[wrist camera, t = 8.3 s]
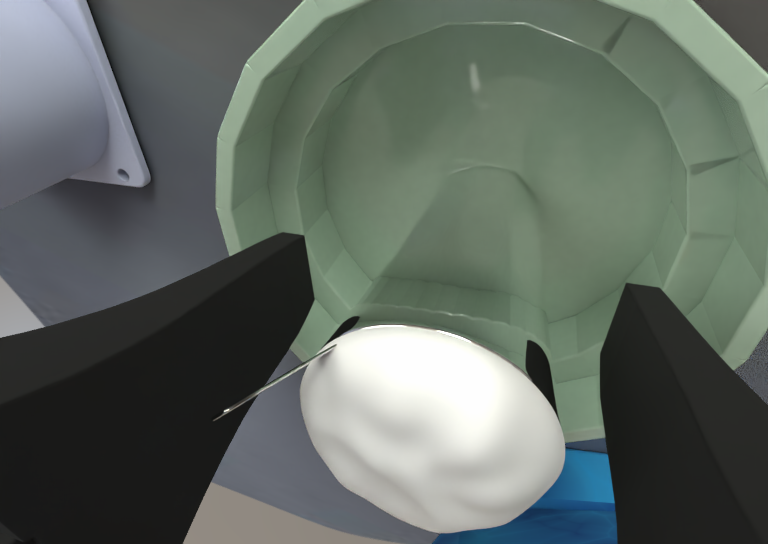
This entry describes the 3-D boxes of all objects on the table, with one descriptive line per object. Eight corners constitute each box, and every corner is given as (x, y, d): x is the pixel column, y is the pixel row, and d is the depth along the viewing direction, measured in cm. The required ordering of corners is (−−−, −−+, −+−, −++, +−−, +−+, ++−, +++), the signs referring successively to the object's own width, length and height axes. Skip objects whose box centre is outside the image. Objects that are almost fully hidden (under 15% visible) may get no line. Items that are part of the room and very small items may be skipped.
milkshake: (479, 84, 12) (326, 352, 4) (593, 229, 13) (641, 639, 5) (368, 182, 14) (151, 452, 7) (472, 293, 16) (388, 626, 8)
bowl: (318, 312, 20) (267, 390, 16) (261, -48, 12) (141, -45, 9) (641, 375, 16) (662, 491, 13) (849, -73, 9) (1040, -83, 5)
